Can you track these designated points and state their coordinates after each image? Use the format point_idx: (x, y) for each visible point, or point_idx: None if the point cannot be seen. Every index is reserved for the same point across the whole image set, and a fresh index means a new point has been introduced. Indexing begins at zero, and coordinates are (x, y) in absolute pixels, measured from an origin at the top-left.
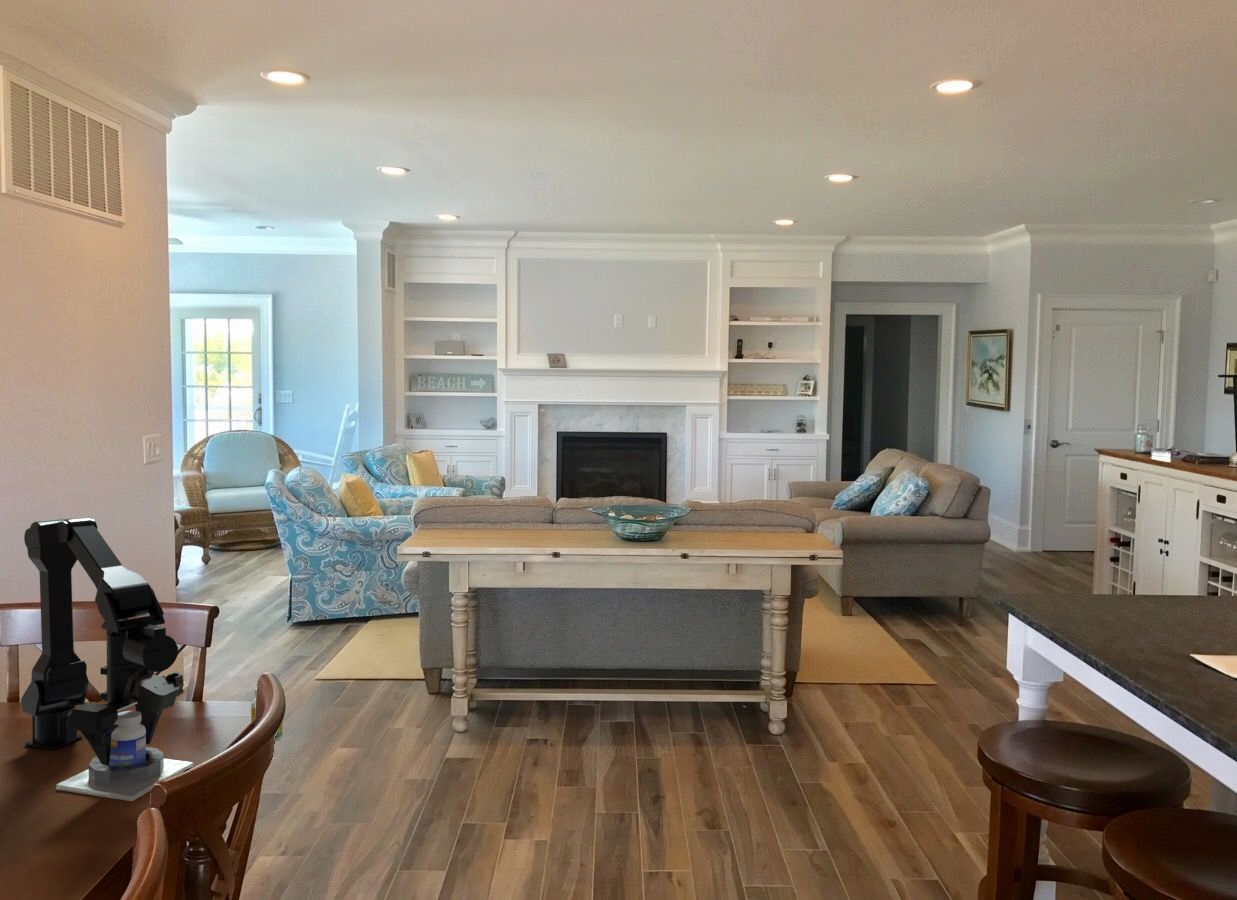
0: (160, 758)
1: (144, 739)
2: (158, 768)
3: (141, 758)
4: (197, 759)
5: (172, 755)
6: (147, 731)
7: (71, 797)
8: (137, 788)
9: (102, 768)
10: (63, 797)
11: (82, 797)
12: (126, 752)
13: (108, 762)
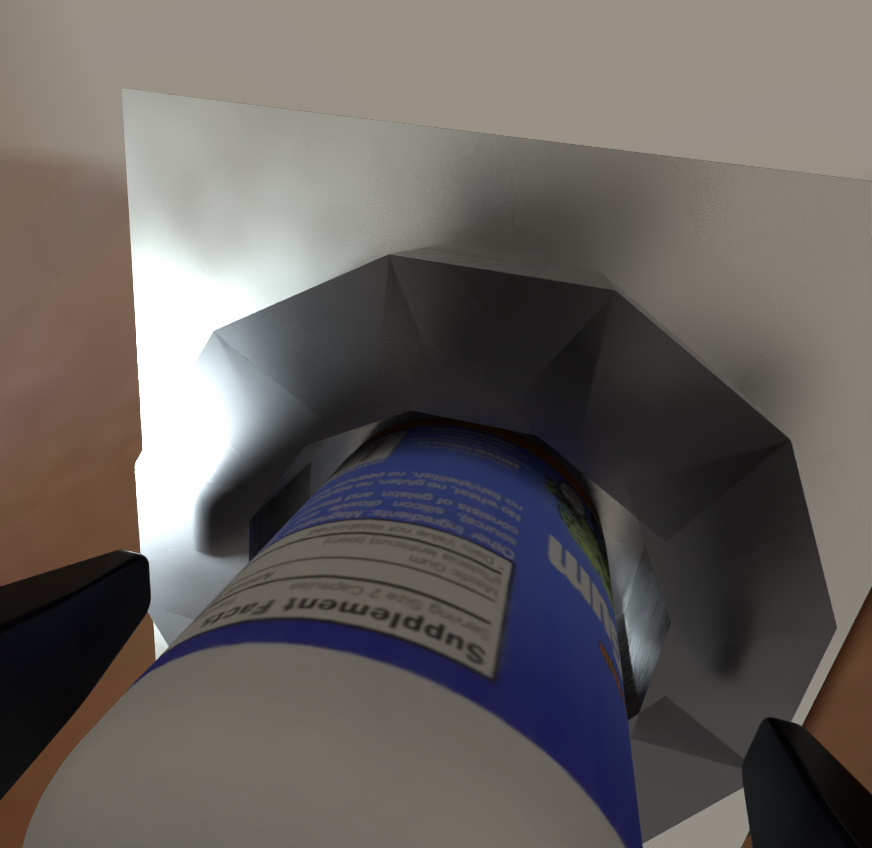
0: (358, 275)
1: (302, 589)
2: (444, 255)
3: (453, 468)
4: (18, 165)
5: (41, 403)
6: (19, 673)
7: (861, 722)
8: (814, 270)
9: (723, 727)
10: (858, 766)
11: (866, 656)
12: (602, 656)
13: (792, 735)
